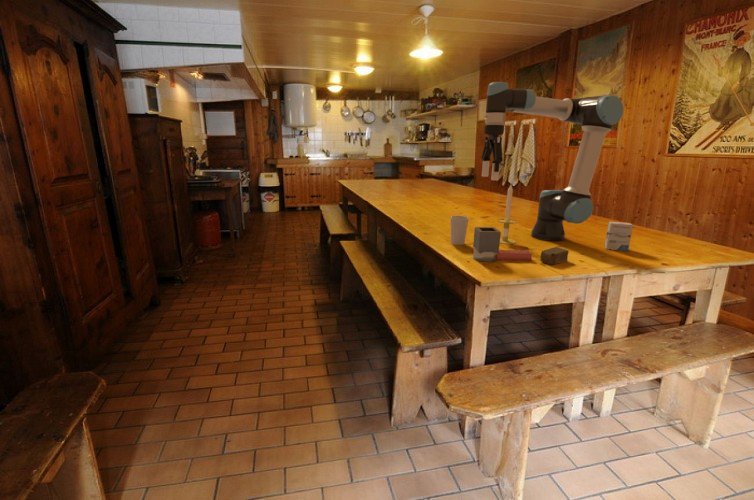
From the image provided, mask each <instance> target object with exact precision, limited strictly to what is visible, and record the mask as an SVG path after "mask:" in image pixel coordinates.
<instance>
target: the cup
mask: <svg viewBox="0 0 754 500" xmlns="http://www.w3.org/2000/svg"><path fill="white" fill-rule="evenodd" d="M469 219H470V218H469V216H464V215H451V216H450V244H451V245H454V246H463V245H465V244H466V243H465V242H466V237H467V232H468V231H467V230H468V225H469Z"/></svg>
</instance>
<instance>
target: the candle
mask: <svg viewBox="0 0 754 500" xmlns="http://www.w3.org/2000/svg"><path fill="white" fill-rule="evenodd" d="M513 191H514V189H513V186H512V184H510V185H509V187H508V189H507V193H506V204H505V213H504V214H505V215H504V218H500V219H497V222H498V223H501V224H503V228H502V229H503V230H502V237H500V245H514V244H516V243H517V241H516V240H514V239H513V238H509V232H510V225H511V224H512V225H513V224H516V223H518V221H517V220H515V219H510V218H511V209H512V201H513Z"/></svg>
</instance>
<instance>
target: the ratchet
mask: <svg viewBox="0 0 754 500" xmlns="http://www.w3.org/2000/svg"><path fill="white" fill-rule="evenodd" d="M532 257H533V252H531V251H530V250H528V249H523V250H522V249H517V250H516V249H499V252H478V251H477V250H476V249H475V248H474V247H473V256H472V258H473V260H475V261H478V262H482V263H493V262H496V261H512V262H513V261H515V262H517V261H523V262H525V261H528V262H529V261H532V259H533V258H532Z"/></svg>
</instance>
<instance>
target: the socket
mask: <svg viewBox="0 0 754 500" xmlns="http://www.w3.org/2000/svg"><path fill="white" fill-rule="evenodd" d="M473 232H474V233H473V242H472V244H473V245H472V247H473V249H474V248H475V249H476V250H477V251H478V252H499V250H500V245H501V244H500V238H501V235H502V234H501V233H502V232H501V231H500V230H499V229H498V228H496V227H494V226H492V227H491V226H490V227H489V226H488V227H487V226H474V231H473Z"/></svg>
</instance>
